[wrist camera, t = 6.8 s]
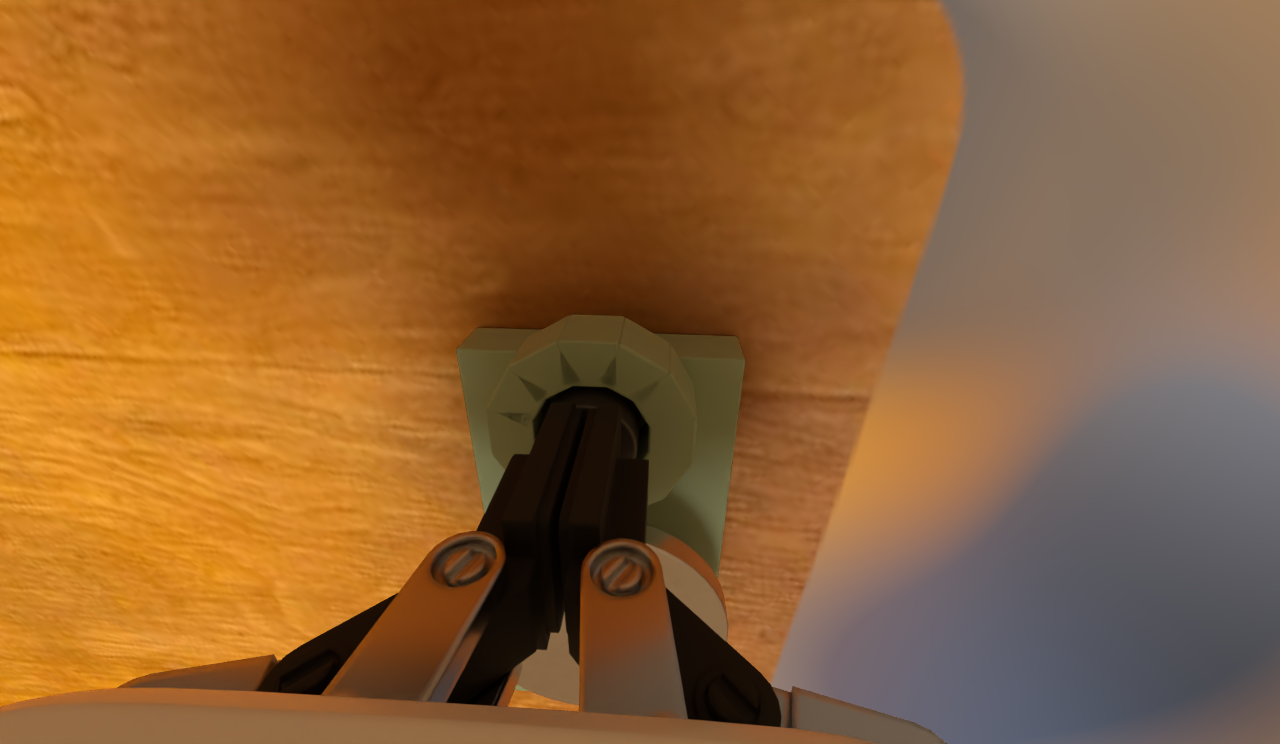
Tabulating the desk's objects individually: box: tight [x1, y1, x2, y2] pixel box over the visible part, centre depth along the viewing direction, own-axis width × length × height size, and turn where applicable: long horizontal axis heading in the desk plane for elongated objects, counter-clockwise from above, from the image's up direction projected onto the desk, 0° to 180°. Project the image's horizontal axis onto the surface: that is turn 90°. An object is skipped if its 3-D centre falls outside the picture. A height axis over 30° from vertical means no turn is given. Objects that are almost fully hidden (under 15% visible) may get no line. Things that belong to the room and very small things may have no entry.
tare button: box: [554, 386, 641, 459], centre depth 13 cm, size 2×2×2 cm
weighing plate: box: [517, 524, 728, 705], centre depth 15 cm, size 8×8×1 cm
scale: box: [456, 314, 745, 691], centre depth 16 cm, size 8×17×4 cm, turn 179°
